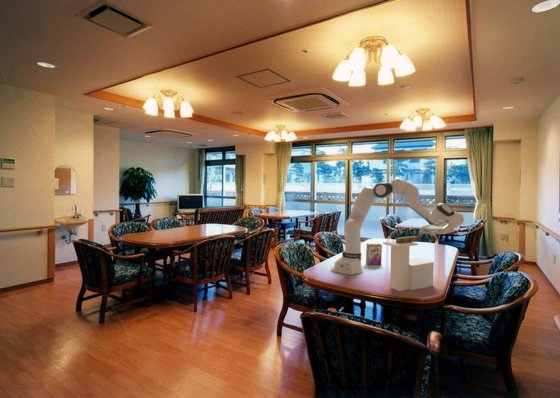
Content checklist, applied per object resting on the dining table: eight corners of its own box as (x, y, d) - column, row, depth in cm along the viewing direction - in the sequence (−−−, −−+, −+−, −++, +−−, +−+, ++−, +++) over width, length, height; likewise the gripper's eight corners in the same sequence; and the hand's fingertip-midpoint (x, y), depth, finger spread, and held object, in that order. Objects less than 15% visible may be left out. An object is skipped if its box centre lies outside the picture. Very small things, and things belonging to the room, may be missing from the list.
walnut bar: (399, 243, 191) (400, 238, 190) (395, 242, 193) (396, 237, 193) (420, 241, 199) (420, 236, 199) (416, 240, 202) (416, 235, 201)
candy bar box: (367, 265, 251) (368, 244, 250) (365, 263, 256) (366, 243, 255) (381, 265, 251) (382, 244, 251) (379, 263, 256) (379, 243, 256)
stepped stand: (397, 293, 185) (398, 245, 184) (382, 287, 196) (383, 242, 194) (433, 285, 199) (434, 241, 198) (416, 280, 210) (417, 238, 209)
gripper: (427, 221, 209) (411, 228, 205) (453, 221, 190) (436, 229, 185) (430, 230, 209) (414, 238, 205) (456, 231, 190) (439, 239, 185)
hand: (425, 233), depth 195 cm, fingers open, 8 cm apart
